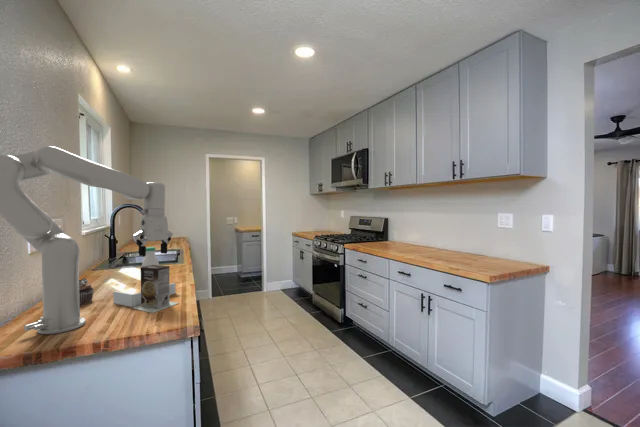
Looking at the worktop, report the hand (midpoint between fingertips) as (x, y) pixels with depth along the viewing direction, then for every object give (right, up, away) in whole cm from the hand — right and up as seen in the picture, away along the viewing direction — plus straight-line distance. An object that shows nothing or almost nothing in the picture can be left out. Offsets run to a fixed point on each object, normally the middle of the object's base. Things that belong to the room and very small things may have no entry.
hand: (153, 254), depth 125 cm
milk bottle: (-19, -21, +32) cm, 42 cm away
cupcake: (-35, -22, +6) cm, 41 cm away
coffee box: (0, -21, +1) cm, 21 cm away
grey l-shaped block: (-10, -21, +12) cm, 26 cm away
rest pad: (0, -21, +1) cm, 21 cm away
